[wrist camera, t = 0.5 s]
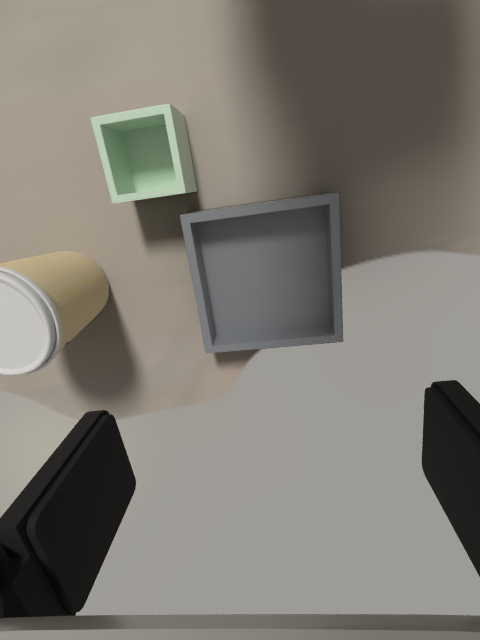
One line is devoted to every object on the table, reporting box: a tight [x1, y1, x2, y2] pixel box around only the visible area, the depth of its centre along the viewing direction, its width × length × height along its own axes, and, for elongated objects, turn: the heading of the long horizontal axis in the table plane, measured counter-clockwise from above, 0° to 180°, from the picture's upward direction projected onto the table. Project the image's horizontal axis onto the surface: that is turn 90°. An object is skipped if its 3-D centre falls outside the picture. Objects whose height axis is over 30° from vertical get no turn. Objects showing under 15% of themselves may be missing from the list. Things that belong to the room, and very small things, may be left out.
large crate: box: [180, 192, 343, 353], centre depth 34 cm, size 14×14×4 cm
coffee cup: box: [0, 251, 109, 375], centre depth 32 cm, size 9×9×12 cm
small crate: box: [91, 103, 197, 204], centre depth 30 cm, size 6×6×5 cm
